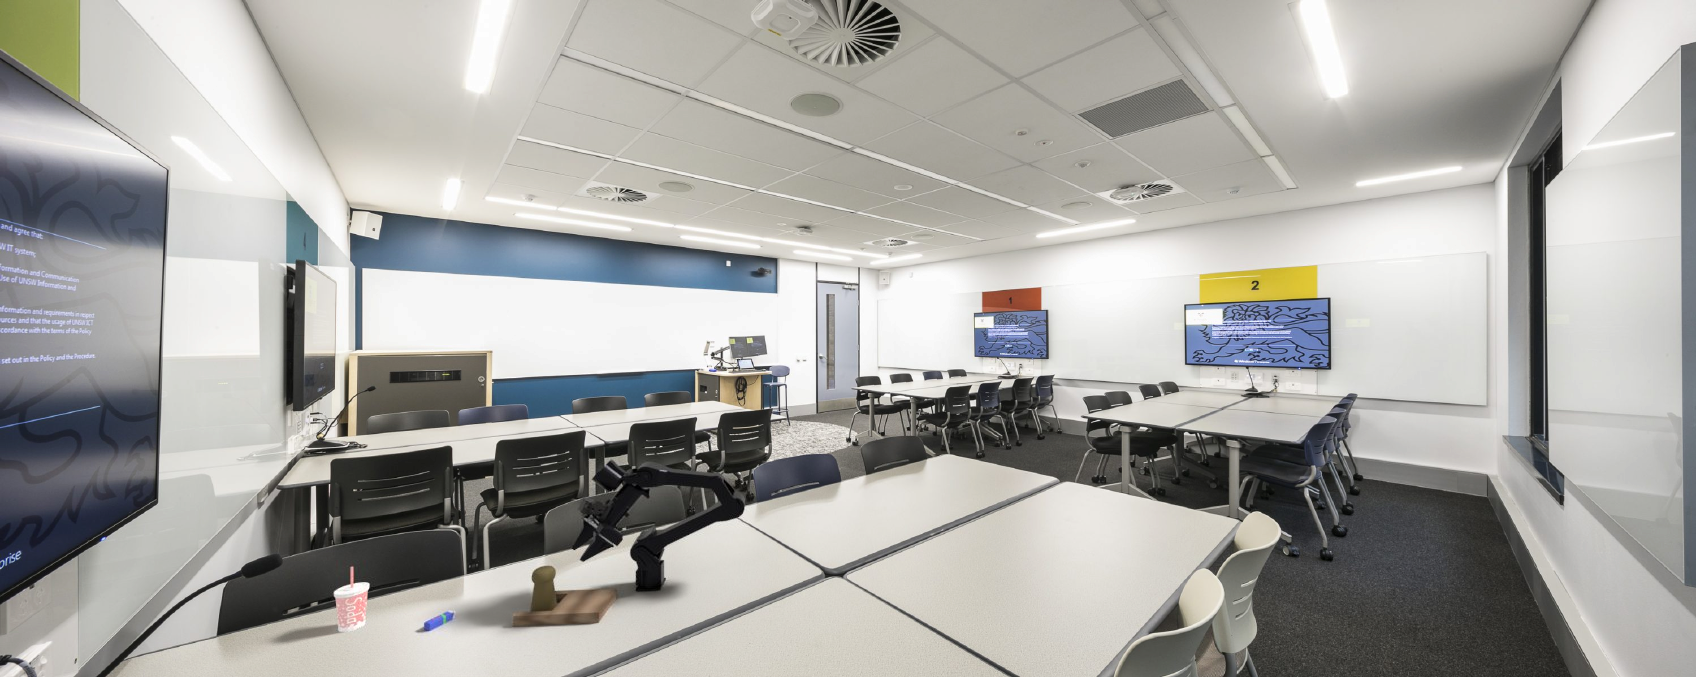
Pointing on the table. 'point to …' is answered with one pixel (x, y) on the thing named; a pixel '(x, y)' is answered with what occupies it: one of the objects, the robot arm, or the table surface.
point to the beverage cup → (351, 605)
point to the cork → (543, 589)
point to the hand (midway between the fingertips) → (576, 554)
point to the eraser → (439, 620)
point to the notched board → (571, 608)
